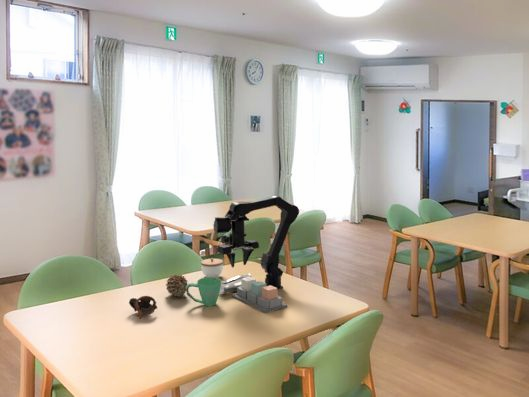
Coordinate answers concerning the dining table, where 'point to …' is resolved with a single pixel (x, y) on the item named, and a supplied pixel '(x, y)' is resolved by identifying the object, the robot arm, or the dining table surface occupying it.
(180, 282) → the pine cone
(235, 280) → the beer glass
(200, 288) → the mug
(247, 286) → the key ivory
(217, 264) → the lidded jar
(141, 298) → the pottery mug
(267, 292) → the salmon pink block
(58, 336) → the dining table surface
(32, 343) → the dining table surface
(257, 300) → the keypad base
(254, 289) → the key teal
